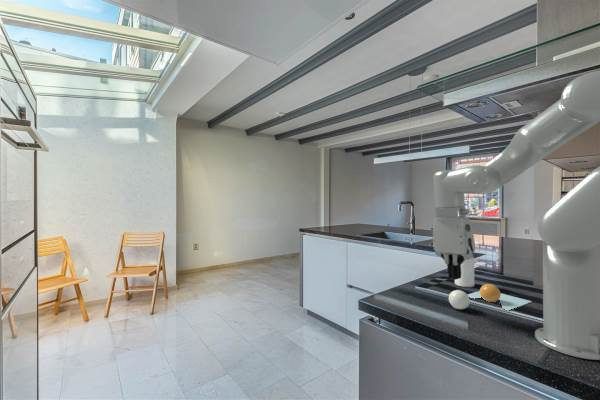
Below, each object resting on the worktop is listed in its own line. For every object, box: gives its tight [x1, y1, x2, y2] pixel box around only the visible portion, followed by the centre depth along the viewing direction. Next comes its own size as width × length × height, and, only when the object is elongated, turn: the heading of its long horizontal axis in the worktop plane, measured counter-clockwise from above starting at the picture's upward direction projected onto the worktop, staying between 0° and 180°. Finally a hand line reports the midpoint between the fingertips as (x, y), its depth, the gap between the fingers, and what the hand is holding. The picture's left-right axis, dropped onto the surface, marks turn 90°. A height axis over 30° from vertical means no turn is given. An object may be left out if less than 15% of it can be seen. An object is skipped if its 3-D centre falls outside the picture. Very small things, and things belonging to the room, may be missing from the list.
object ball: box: [479, 283, 501, 302], centre depth 91 cm, size 6×6×6 cm
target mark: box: [466, 290, 533, 312], centre depth 92 cm, size 14×14×1 cm
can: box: [454, 256, 475, 289], centre depth 108 cm, size 6×6×12 cm
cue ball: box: [448, 289, 471, 310], centre depth 85 cm, size 6×6×6 cm
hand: (454, 278), depth 81 cm, fingers closed
